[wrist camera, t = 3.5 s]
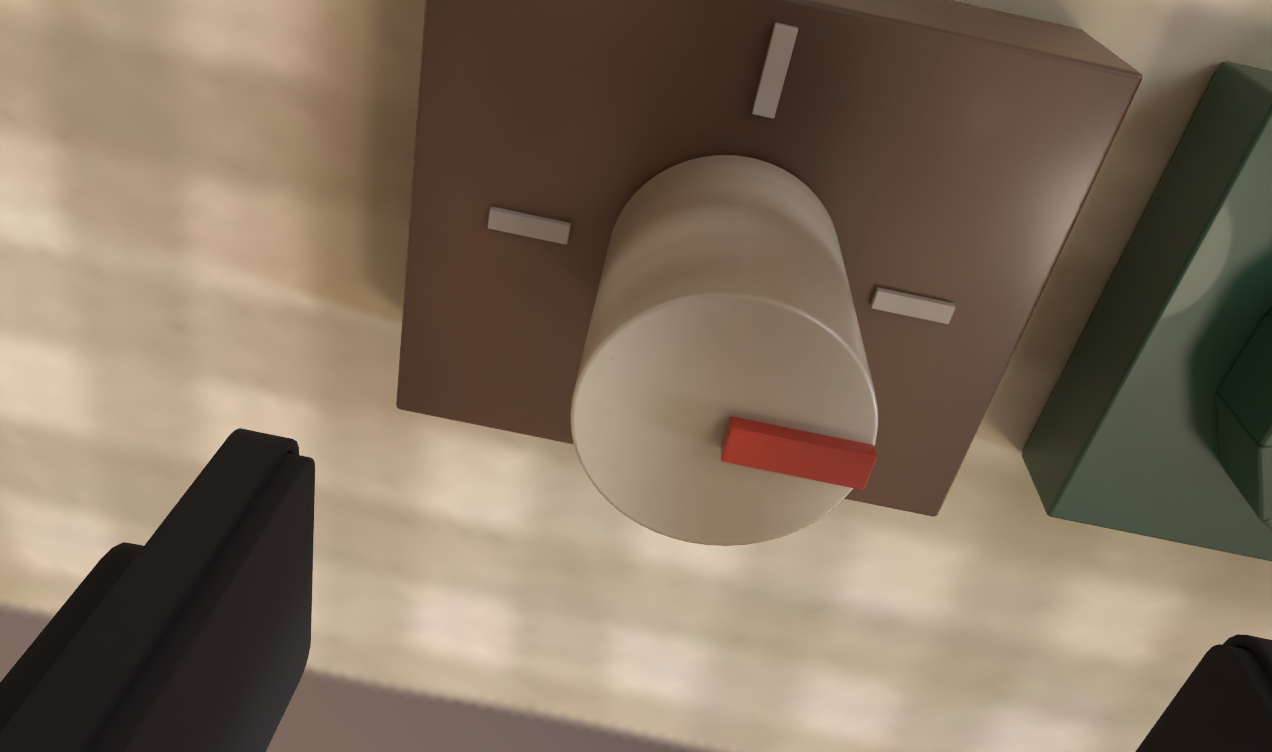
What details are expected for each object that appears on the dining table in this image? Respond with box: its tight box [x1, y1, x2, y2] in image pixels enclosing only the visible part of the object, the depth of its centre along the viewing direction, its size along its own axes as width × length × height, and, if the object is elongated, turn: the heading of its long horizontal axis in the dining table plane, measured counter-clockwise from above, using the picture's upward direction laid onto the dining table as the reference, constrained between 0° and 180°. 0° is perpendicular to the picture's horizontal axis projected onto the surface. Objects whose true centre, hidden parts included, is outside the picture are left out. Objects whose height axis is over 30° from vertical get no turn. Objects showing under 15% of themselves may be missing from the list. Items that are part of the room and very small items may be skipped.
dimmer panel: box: [396, 0, 1142, 516], centre depth 18 cm, size 11×9×3 cm
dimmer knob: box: [570, 155, 878, 546], centre depth 15 cm, size 4×4×5 cm
